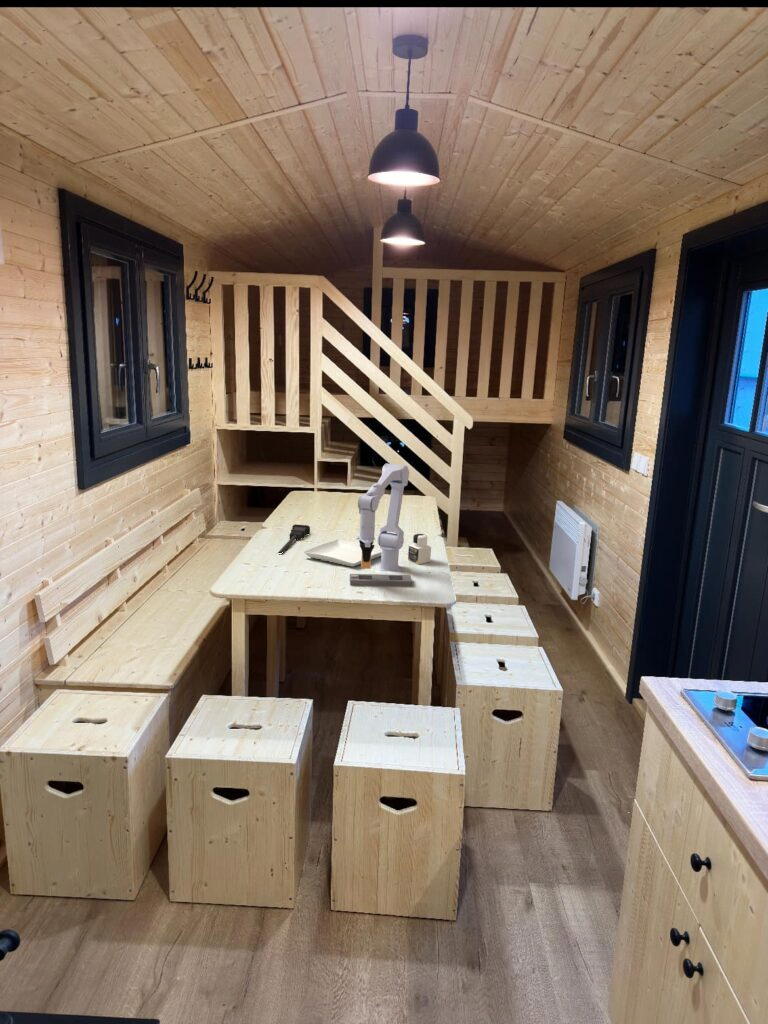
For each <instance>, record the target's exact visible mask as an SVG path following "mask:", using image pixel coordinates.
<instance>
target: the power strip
mask: <svg viewBox="0 0 768 1024" xmlns="http://www.w3.org/2000/svg"><path fill="white" fill-rule="evenodd" d="M349 586H351V587H352V586H354V587H355V586H359V587H361V586H363V587H365V586H367V587H368V586H369V587H371V586H372V587H413V578H412V577H411V574H380V573H379V574H376V573H375V574H374V573H369V574H368V573H366V574H365V573H349Z"/></svg>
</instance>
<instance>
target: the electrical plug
mask: <svg viewBox="0 0 768 1024" xmlns="http://www.w3.org/2000/svg"><path fill="white" fill-rule="evenodd" d="M306 534H309V535H310V534H311V526H310V525H308V524H293V525H292V527H291V529H290V533H289V540H288V541H287V542H286V543H285V545H283V546H282V548H280V549H279V551H278V552H277V554H278V553H282V552H283V553H285V552H286V550H287V549H288V548H289V547H290V546H291V545H292V543H294V541H296V540H295V539H298V540H297V541H301V540H302V539H303V538H302V537H305V536H307V535H306ZM301 538H302V539H301ZM300 539H301V540H300Z"/></svg>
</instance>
